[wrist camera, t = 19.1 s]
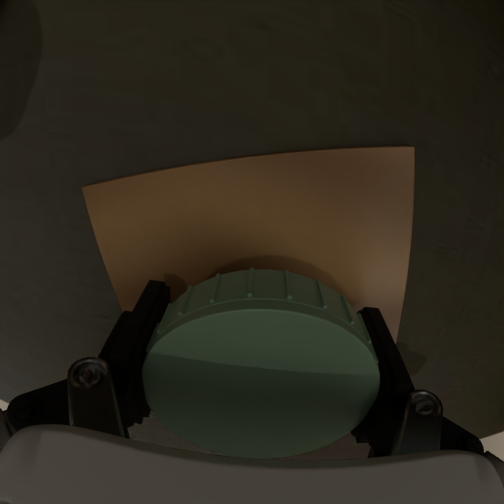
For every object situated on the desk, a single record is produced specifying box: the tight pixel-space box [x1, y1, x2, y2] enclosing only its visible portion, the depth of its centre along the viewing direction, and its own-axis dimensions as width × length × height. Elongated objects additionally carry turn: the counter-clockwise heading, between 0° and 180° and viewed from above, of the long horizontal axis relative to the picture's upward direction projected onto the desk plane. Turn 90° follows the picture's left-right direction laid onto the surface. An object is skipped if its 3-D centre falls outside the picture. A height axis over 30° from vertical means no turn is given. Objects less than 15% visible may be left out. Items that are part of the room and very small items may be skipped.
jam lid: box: [142, 268, 380, 459], centre depth 9 cm, size 7×7×2 cm
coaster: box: [82, 145, 415, 344], centre depth 13 cm, size 12×12×1 cm
